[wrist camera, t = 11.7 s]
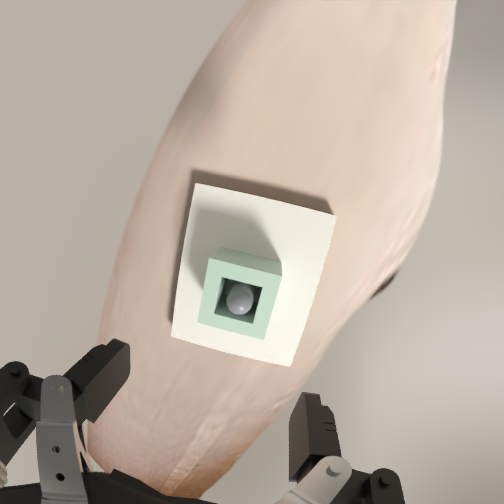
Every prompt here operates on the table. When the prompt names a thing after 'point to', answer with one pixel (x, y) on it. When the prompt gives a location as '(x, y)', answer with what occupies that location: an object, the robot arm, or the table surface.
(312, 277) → the plate
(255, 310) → the collar
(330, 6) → the table surface
